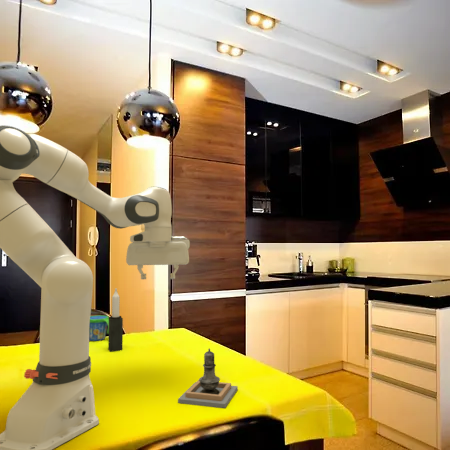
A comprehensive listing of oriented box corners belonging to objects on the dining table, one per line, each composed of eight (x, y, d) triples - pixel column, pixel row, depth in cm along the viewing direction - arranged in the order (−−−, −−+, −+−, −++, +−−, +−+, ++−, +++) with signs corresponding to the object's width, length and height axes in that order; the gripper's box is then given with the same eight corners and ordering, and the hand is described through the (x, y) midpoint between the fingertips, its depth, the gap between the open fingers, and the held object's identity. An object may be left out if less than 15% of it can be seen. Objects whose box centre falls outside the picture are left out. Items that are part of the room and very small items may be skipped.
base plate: (225, 408, 95) (225, 399, 95) (178, 402, 99) (177, 394, 99) (237, 389, 108) (237, 381, 108) (195, 385, 111) (195, 378, 111)
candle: (107, 349, 154) (108, 288, 156) (120, 347, 157) (120, 287, 159) (110, 351, 150) (110, 289, 152) (122, 350, 152) (123, 288, 154)
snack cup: (117, 339, 172) (117, 316, 173) (99, 344, 163) (99, 320, 164) (93, 335, 180) (94, 314, 180) (75, 340, 171) (75, 317, 171)
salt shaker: (208, 398, 99) (207, 352, 100) (194, 392, 103) (194, 348, 104) (224, 392, 103) (224, 348, 104) (211, 387, 107) (210, 344, 108)
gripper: (190, 236, 126) (190, 277, 125) (129, 237, 125) (129, 278, 125) (189, 236, 120) (189, 279, 119) (125, 236, 119) (124, 280, 118)
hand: (158, 279), depth 122 cm, fingers open, 8 cm apart
